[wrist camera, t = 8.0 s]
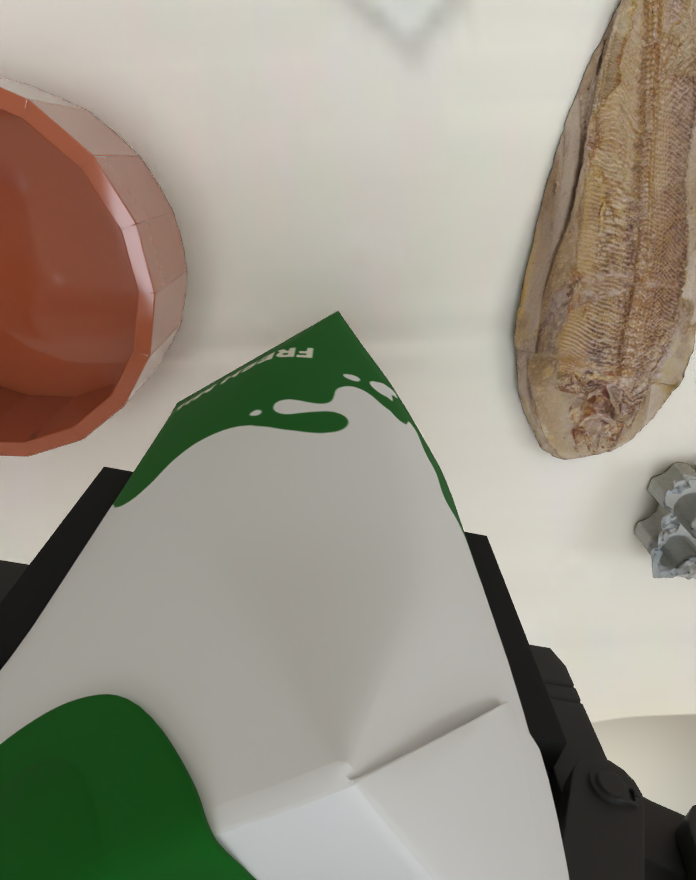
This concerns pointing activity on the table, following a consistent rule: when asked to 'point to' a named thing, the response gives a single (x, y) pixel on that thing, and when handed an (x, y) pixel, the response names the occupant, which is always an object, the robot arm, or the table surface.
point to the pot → (77, 272)
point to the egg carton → (672, 523)
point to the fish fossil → (616, 241)
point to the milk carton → (274, 658)
